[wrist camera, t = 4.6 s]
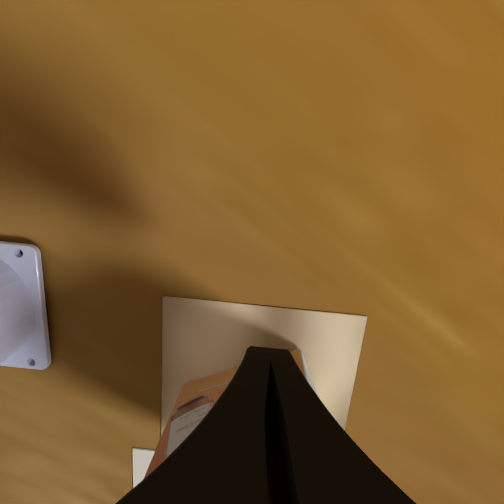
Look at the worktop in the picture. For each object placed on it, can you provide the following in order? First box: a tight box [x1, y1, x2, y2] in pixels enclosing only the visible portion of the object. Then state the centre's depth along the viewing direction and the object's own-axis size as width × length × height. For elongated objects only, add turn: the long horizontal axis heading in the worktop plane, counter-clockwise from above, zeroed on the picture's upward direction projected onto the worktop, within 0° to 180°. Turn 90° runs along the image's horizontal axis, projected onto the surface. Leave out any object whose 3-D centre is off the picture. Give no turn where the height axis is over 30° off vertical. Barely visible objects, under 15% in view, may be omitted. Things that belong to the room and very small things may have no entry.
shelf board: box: [161, 296, 367, 436], centre depth 18 cm, size 12×11×1 cm
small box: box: [144, 349, 318, 478], centre depth 13 cm, size 8×6×10 cm
